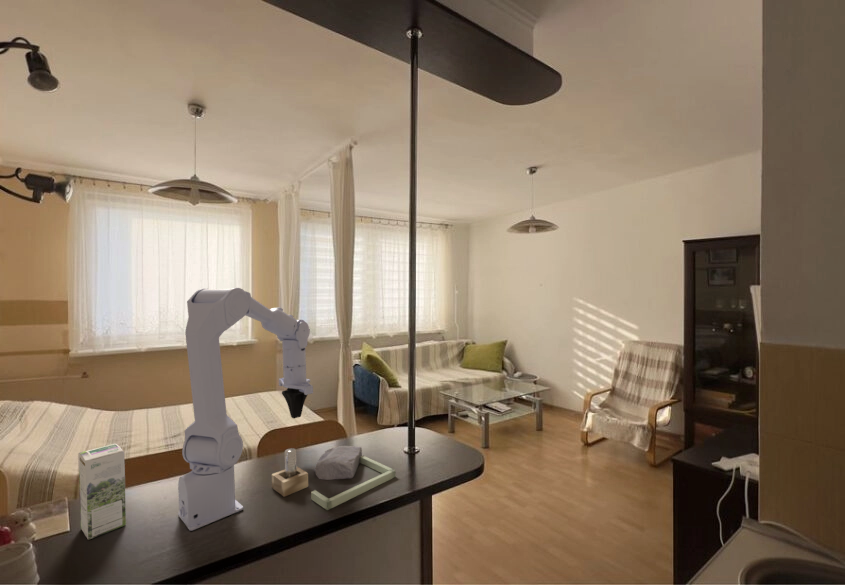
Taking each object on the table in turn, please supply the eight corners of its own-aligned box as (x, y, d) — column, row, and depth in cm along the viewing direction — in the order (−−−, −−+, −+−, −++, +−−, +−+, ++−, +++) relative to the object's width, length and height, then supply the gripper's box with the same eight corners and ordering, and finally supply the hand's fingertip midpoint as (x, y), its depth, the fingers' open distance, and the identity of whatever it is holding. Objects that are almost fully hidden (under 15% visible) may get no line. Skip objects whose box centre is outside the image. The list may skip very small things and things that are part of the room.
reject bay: (327, 510, 77) (327, 502, 77) (296, 489, 85) (296, 482, 85) (395, 476, 90) (395, 470, 90) (363, 461, 98) (363, 455, 98)
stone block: (313, 488, 89) (356, 479, 89) (309, 467, 90) (352, 458, 89) (327, 466, 101) (365, 458, 101) (323, 448, 101) (361, 439, 101)
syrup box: (118, 515, 77) (115, 441, 77) (127, 526, 74) (124, 448, 73) (80, 529, 73) (77, 451, 73) (87, 541, 69) (84, 459, 69)
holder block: (284, 496, 82) (283, 482, 82) (272, 487, 86) (271, 474, 86) (308, 486, 86) (307, 473, 86) (295, 478, 90) (295, 465, 90)
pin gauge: (298, 486, 86) (297, 450, 86) (288, 490, 85) (286, 453, 85) (294, 482, 88) (293, 447, 88) (283, 486, 87) (282, 450, 87)
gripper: (323, 366, 101) (324, 419, 101) (295, 359, 111) (296, 407, 111) (297, 371, 96) (299, 426, 96) (270, 363, 106) (272, 414, 106)
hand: (296, 417), depth 103 cm, fingers closed
